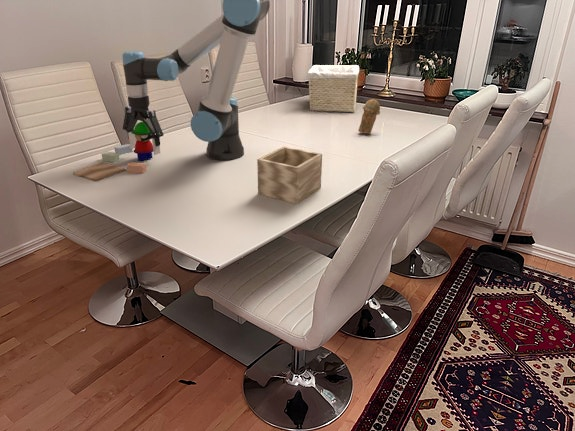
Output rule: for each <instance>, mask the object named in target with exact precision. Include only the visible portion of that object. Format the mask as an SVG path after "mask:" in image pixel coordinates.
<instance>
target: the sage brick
mask: <svg viewBox="0 0 575 431" xmlns="http://www.w3.org/2000/svg"><path fill="white" fill-rule="evenodd" d="M101 158H102V161H104V162H108V161H109V163H117V162H120V161H121V160H120V155H119V154H118V153H115V152H113V151H105V152H102V153H101Z"/></svg>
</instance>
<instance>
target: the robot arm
mask: <svg viewBox="0 0 575 431" xmlns="http://www.w3.org/2000/svg"><path fill="white" fill-rule="evenodd" d="M270 2H271V1H270V0H222V12H223V13H222V14H221V15H220V16H218V18H216V19H215V20H213V21H212V22H211V23H209V24H208V25H207V26H205V27H204V28H203V29H201V30H200V31H199V32H198V33H196V34H195V35H194V36H192V37H191V38H190V39H188V41H186V42H185V43H183V44H182V45H180V46H179V47H178V48H176V49H175V50H174V51H173V52H172V53H170V54H168V55H164V56H161V57H156V58H152V57H151V58H149V57H145V54H144V52H143V51H139V50H130V51H124V52H123V53H122V55H121V56H122V57H121V58H122V67H123V72H124V78H125V90H126V95H127V102H128V106H125V107H124V113H125V114H124V117H123V122H122V123H123V125H122V130H123V131H125V132H127V139H128V144H130V149H132V150H133V149H135V144H136V142H137V139H136V138H135V134H132V133H131V131H133V130H135V126H136V125H137V124H138V121H139V122H143V123H145V124H146V126H147V128H148V129H149V131H150V132H151V134H152V136H153V138H152V139H151V143H152V145H153V152H152V153H153V155H154V156H156V155H159V154H161V139H160V138H161V137H163V136H164V132H163V130H162V127H161V124H160V122H159V120H158V117H157V115H156V114H157V113H156V110H154V109H153V110H149V106H150V98H149V97H150V96H149V95H148V94H149V89H148V88H149V87H148V80H149V81H164V82H168V81H171V82H173V81H175V80H177V77H179V76H178V75H180V74H183V73H185V72H186V71H187V70H188V68H190V67H191V66H192V65H194V64H195V63H197V61H199V60H201V58H202V59H203V57H205V56H206V55H207V54H208V53H210V52H212V51H213V50H214V49H215V48H217V47H218V46H219V47H218V52H217V55H216V58H215V63H214V67H213V69H212V73H211V77H210V80H209V84H208V87H207V91H206V95H204V96H202V97H201V98H200V100H199V103H198V108H197V111H196V112H194V114H192V115H193V116H192V117H191V119H190V128H191V131H192V133H193V134H194V135H195V137H196V138H197V139H199V140H201V141H202V142H207V146H206V156H207V158H209V159H212V160H217V161H218V160H219V161H228V160H229V161H230V160H235V159H239V158H241V157H243V156H244V154H245V149H244V146H243V142H242V140H241V137H240V129H239V126H240V124H239V104H238V100H237V98H236V97H232V96H233V92H234V89H235V87H236V86H235V85H236V83H237V79H238V76H239V73H240V69H241V66H242V63H243V60H244V58H245V53H246V50H247V46H248V44H249V40H250V38H252V37H254V36H256V33H257V29H258V28H259V27H258V26H259V24H260V21H262V20H263V19H264V18H265V17H266V16H268V13H269V11H270V6H271V4H270Z"/></svg>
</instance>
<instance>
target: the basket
mask: <svg viewBox="0 0 575 431" xmlns="http://www.w3.org/2000/svg"><path fill="white" fill-rule="evenodd" d="M359 73H360V66H359V65H357V64H352V65H349V64H348V65H345V64H344V65H342V64H337V65H335V64H334V65H333V64H332V65H331V64H329V65H328V64H325V65H324V64H321V65H320V64H315V65H312V66H311V68H310V69H308V72H307V78H308V95H309V96H308V97H309V110H310V111H311V110H312V111H311V112H314V110H315V111H319V112H337V113H339V112H341V113H342V112H343V113H354V112H356V103H357V93H358V92H357V91H358V78H359Z"/></svg>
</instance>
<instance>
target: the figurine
mask: <svg viewBox="0 0 575 431" xmlns="http://www.w3.org/2000/svg"><path fill="white" fill-rule="evenodd" d="M362 110H363V113H362V116H361V121H360V124H359V127H358V130H357V131H358V132H359V133H365V134H367V135H368V134H371V133H372V132H373V127H374V125H375V122H376V120H377V116H378V115H380V114H381V111H380V110H381V105H380V102H379V101H378V100H376V99H374V98H373V99H369V100H367V101H366V103H365V104H364V105H363V106H362Z"/></svg>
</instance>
